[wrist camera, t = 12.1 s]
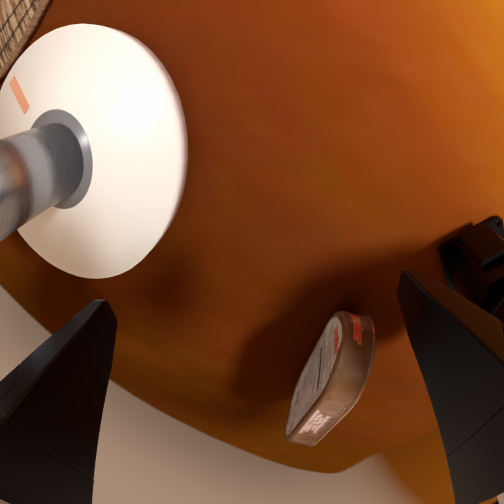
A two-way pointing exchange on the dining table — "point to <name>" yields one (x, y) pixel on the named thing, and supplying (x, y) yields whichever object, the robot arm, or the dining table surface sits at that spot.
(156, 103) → the turntable
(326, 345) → the tin
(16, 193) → the grey metal cylinder
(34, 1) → the trivet
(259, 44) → the dining table surface
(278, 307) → the dining table surface
